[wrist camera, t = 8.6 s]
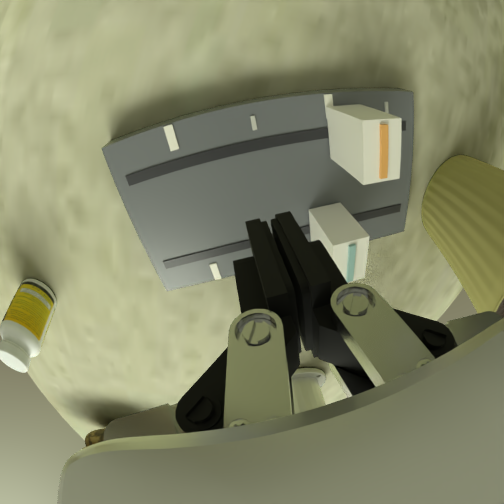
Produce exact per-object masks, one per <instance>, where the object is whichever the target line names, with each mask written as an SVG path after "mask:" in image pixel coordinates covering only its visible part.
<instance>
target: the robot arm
mask: <svg viewBox="0 0 504 504" xmlns="http://www.w3.org/2000/svg"><path fill="white" fill-rule="evenodd" d="M270 221H271V227H272V233H273V235H272V233H271V231H270V228H269V226H268V224H267V221H262V222H261V220H260V218H258V219H254V220H250V221H246V222H245V224H246V228H247V233H248V237H249V241H250V245H251V250H252V254H253V256H251V257H247V258H243V259H238V260H234V261H233V266H234V272H235V278H236V284H237V290H238V296H239V302H240V308H241V314H240V315H239V316H238V317H237V318H235V319H234V321H233V322H232V324H231V325H230V329H229V336H228V347H227V348H226V350H225V351H224V352H223V353H222V354H221V355H220V356H219V357H218V358H217V360H216V361H215V362H214V363H213V364H212V365H211V366H210V367H209V368H208V370H207V371H206V372H205V373H204V374H203V375H202V376H201V377H200V378H199V379H198V381H197V382H196V383H195V384H194V385H193V386H192V387H191V388H190V389H189V390H188V391H187V392H186V393H185V394H184V396H183V397H182V398H181V399H180V401H179V402H178V403H177V404H174V405H171V406H170V405H169V404H165V405H161V406H158V407H155V408H152V409H149V410H145V411H142V412H138V413H135V414H131V415H128V416H124V417H120V418H117V419H115V420H113V421H111V422H110V423H109V424H108V425H107V426H106V429H105V431H104V441H103V442H99V443H96V444H93V445H90V446H88V447H86V448H84V449H82V450H80V451H78V452H76V453H75V454H74V455H72V456H71V457H70V458H69V459H68V460H67V462H66V463H65V465H64V467H63V470H62V473H61V477H60V482H59V490H58V504H504V318H502V317H501V316H500V315H499V314H497V313H496V312H493V311H485V312H482V313H478V314H475V315H471V316H467V317H463V318H459V319H455V320H450V321H447V323H446V325H444V324H442V323H439V322H437V321H434V320H430V319H427V318H423V317H420V316H417V315H413V314H410V313H406V312H403V311H400V310H396V309H393V308H392V307H391V306H390V305H389V304H388V303H387V302H386V301H385V300H384V299H383V298H382V297H381V295H380V294H379V293H378V292H377V291H376V290H374V289H373V288H372V287H370V286H368V285H366V284H362V283H349V284H348V283H347V281H346V280H345V278H344V277H343V275H342V273H341V272H340V270H339V269H338V267H337V265H336V264H335V262H334V261H333V259H332V257H331V256H330V254H329V253H328V251H327V250H326V248H325V247H324V245H323V244H322V242H321V241H320V240H315V241H311V242H308V240H307V238H306V237H305V235H304V233H303V232H302V230H301V228H300V227H299V225H298V223H297V222H296V220H295V218H294V217H293V215H292V213H291V212H290V211H288V212H283V213H279V214H275V219H271V220H270ZM300 336H301V339H302V342H303V345H304V348H305V350H306V351H308V350H311V351H312V354H313V356H314V358H315V357H319V359H321V360H323V361H326V362H328V364H329V367H330V369H331V371H332V373H333V374H334V376H335V378H336V379H337V381H338V383H339V384H340V386H341V388H342V389H343V391H344V393H345V394H346V396H347V398H346V399H343V400H340V401H337V402H334V403H331V404H328V405H326V404H325V401H324V398H323V395H322V392H321V389H320V388H321V387H322V386H323V384H324V383H325V381H326V376H325V374H324V372H323V371H322V370H320V369H317V368H300V369H297V368H298V367H299V365H300V359H299V353H301V342H300Z"/></svg>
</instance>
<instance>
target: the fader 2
mask: <svg viewBox="0 0 504 504" xmlns="http://www.w3.org/2000/svg"><path fill="white" fill-rule="evenodd" d="M309 222H310V236H311V241H315V240H320V241H321V242H322V244H323V245H324V247H325V248H326V250H327V251H328V253H329V254H330V256H331V257H332V259H333V261H334V262H335V264H336V265H337V267H338V269H339V270H340V272H341V273H342V275H343V277H344V278H345V280H346V281H347V283H349V282H352V281H356V280H359V279H362V278H365V272H366V264H367V256H368V247H369V237H370V236H369V235H368V234H367V233H366V231H365V230H364V229H363V228H362V227H361V225H360V224H359V223H358V222H357V221H356V220H355V219H354V217H353V216H352V215H351V214H350V213H349V212H348V211H347V209H346V208H345V207H344V206H343V205H342V204H341V203H335V204H331V205H326V206H321V207H317V208H312V209H309Z"/></svg>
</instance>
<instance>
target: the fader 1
mask: <svg viewBox="0 0 504 504" xmlns="http://www.w3.org/2000/svg"><path fill="white" fill-rule="evenodd" d="M326 112H327V122H328V133H329V145H330V158H331V159H332V160H333V161H335V162H336V163H337V164H338V165H340V166H341V167H342V168H343V169H345V170H346V171H347V172H348V173H350V174H351V175H352V176H353V177H354V178H356V179H357V180H358V181H359V182H360V183H361V184H363V185H366V184H372V183H377V182H383V181H389V180H394V179H399V178H400V162H401V118H399V117H397V116H394V115H391V114H388V113H386V112H383V111H380V110H377V109H374V108H371V107H367V106H364V105H361V104H355V105H341V106H329V107H326Z"/></svg>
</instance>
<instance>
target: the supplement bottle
mask: <svg viewBox="0 0 504 504" xmlns="http://www.w3.org/2000/svg"><path fill="white" fill-rule="evenodd" d="M56 304H57V302H56V298H55V296H54V294H53V292H52V291H51V290H50V289H49V287H48V286H46V285H45V284H44V283H42V282H40V281H38V280H35V279H26V280H24V281H23V282H22V283H21V285H20V287H19V288H18V290H17V292H16V294H15V296H14V298H13V300H12V302H11V304H10V306H9V308H8V310H7V312H6V314H5V316H4V318H3V320H2V323H1V326H0V334H1V337H2V340H1V341H0V359H1V360H2V361H3V362H4V363H5V364H6V365H7V366H9V367H11V368H12V369H14V370H16V371H19V372H27V371H28V368H29V365H30V361H31V358H30V357H35V356H37V355H38V354H39V352H40V350H41V347H42V344H43V341H44V338H45V335H46V332H47V329H48V327H49V324H50V322H51V319H52V316H53V314H54V311H55V308H56Z"/></svg>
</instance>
